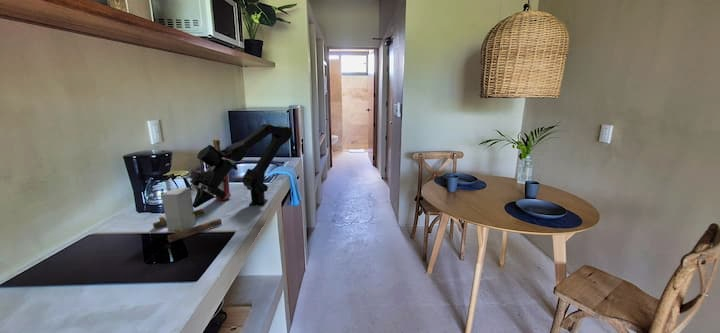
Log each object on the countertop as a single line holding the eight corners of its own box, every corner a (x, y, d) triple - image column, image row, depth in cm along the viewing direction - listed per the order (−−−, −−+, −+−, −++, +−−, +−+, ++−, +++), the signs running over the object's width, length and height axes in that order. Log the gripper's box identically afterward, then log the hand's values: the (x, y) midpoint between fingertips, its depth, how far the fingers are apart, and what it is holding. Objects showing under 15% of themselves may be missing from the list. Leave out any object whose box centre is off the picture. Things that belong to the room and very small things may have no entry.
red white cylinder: (211, 200, 141) (203, 140, 133) (223, 195, 147) (216, 137, 140) (223, 202, 138) (215, 141, 131) (235, 197, 145) (228, 139, 137)
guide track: (202, 212, 128) (201, 205, 127) (222, 224, 117) (220, 216, 116) (153, 227, 114) (151, 219, 113) (170, 242, 104) (168, 233, 103)
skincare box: (183, 233, 110) (176, 194, 106) (167, 233, 111) (160, 194, 107) (196, 223, 118) (191, 186, 114) (182, 222, 119) (175, 186, 115)
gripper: (192, 158, 121) (165, 191, 116) (214, 166, 110) (185, 203, 105) (214, 172, 129) (190, 204, 124) (237, 182, 118) (211, 217, 113)
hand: (193, 207), depth 116 cm, fingers closed, pressing on skincare box
